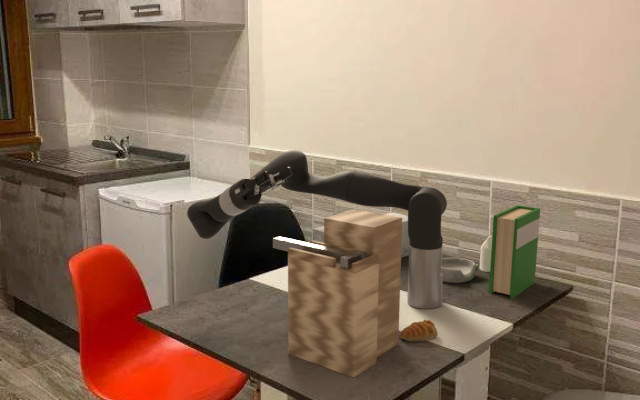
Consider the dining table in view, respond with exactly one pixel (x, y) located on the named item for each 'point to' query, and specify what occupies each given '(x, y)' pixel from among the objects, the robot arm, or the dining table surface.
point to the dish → (458, 270)
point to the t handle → (320, 251)
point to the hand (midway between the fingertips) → (279, 172)
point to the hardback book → (514, 250)
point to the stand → (347, 294)
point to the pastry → (419, 331)
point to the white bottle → (486, 255)
